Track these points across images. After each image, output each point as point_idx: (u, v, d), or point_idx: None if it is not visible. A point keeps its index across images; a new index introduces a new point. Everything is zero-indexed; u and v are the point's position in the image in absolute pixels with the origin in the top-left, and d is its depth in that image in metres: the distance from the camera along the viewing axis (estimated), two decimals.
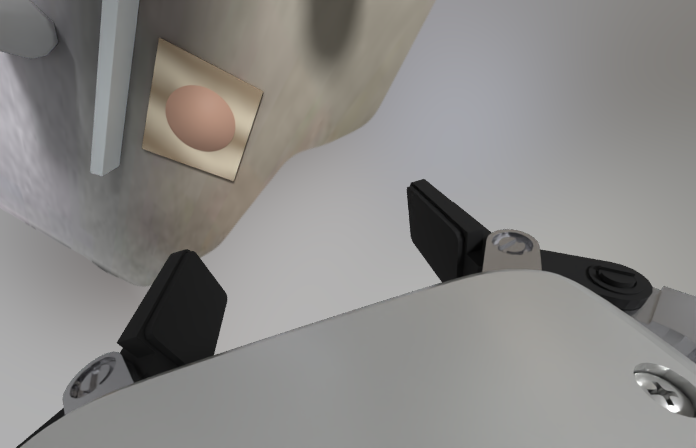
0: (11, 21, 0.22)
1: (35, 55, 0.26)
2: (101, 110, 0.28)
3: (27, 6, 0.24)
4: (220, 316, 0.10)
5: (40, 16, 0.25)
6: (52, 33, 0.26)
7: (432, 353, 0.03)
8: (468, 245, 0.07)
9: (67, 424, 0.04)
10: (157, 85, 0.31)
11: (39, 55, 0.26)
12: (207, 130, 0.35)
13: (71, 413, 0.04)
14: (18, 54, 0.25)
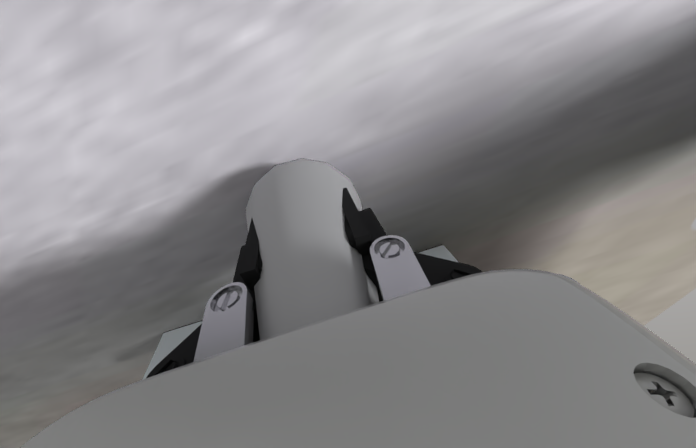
0: None
1: None
2: None
3: None
4: None
5: None
6: None
7: (432, 353, 0.03)
8: (359, 249, 0.08)
9: (67, 424, 0.04)
10: None
11: None
12: None
13: (71, 413, 0.04)
14: None
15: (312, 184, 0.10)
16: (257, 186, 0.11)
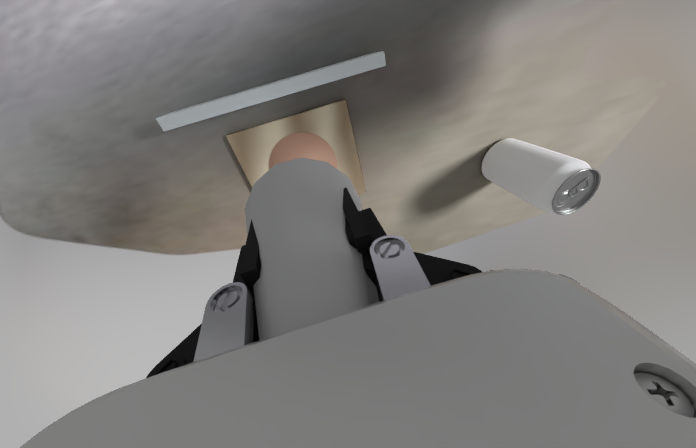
0: None
1: None
2: (248, 99, 0.23)
3: None
4: None
5: None
6: None
7: (431, 353, 0.03)
8: (359, 249, 0.08)
9: (67, 424, 0.04)
10: (304, 118, 0.28)
11: None
12: None
13: (71, 413, 0.04)
14: None
15: (312, 182, 0.10)
16: (257, 186, 0.11)
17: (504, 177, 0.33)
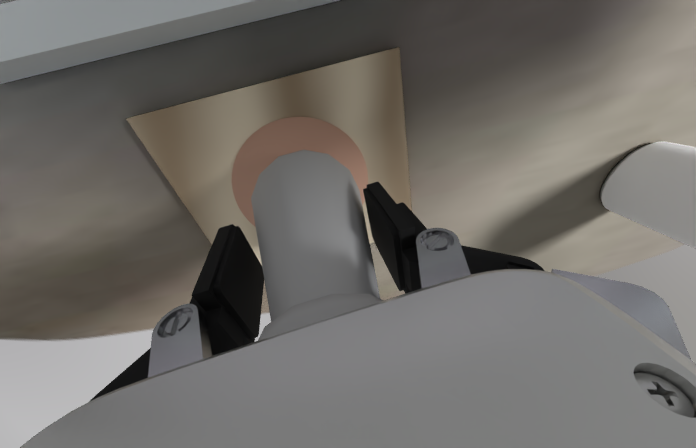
0: None
1: None
2: (144, 1, 0.08)
3: None
4: (261, 287, 0.11)
5: None
6: None
7: (432, 353, 0.03)
8: (403, 242, 0.08)
9: (67, 424, 0.04)
10: (306, 85, 0.13)
11: None
12: None
13: (71, 413, 0.04)
14: None
15: (314, 172, 0.11)
16: (263, 176, 0.12)
17: (671, 213, 0.18)
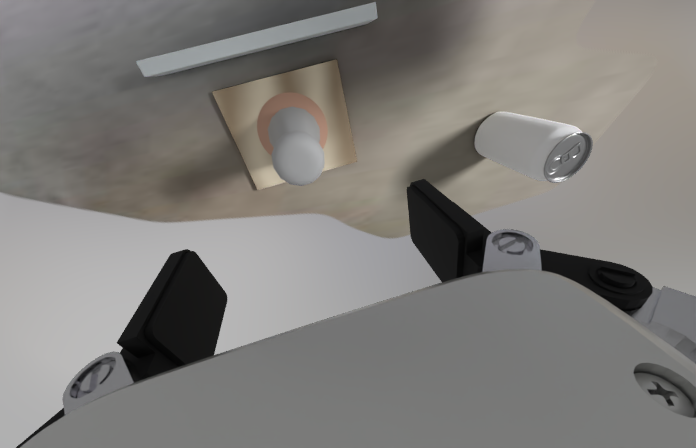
0: None
1: None
2: (234, 46, 0.22)
3: None
4: (220, 316, 0.10)
5: None
6: None
7: (432, 354, 0.03)
8: (468, 245, 0.07)
9: (67, 424, 0.04)
10: (293, 77, 0.28)
11: None
12: None
13: (71, 413, 0.04)
14: None
15: (296, 113, 0.26)
16: (273, 117, 0.27)
17: (496, 149, 0.33)
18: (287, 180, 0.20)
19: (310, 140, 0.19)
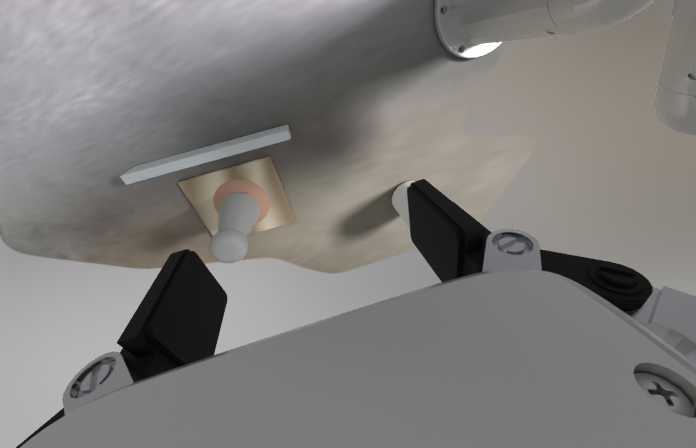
0: None
1: None
2: (188, 162, 0.32)
3: (258, 217, 0.39)
4: (220, 316, 0.10)
5: (257, 219, 0.39)
6: None
7: (431, 353, 0.03)
8: (468, 245, 0.07)
9: (67, 424, 0.04)
10: (238, 169, 0.37)
11: None
12: None
13: (71, 413, 0.04)
14: None
15: (236, 201, 0.35)
16: (222, 201, 0.36)
17: (401, 213, 0.43)
18: (220, 261, 0.30)
19: (233, 238, 0.29)
